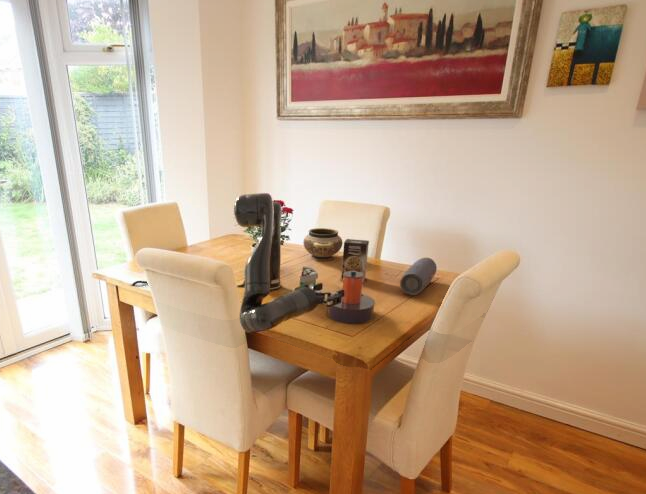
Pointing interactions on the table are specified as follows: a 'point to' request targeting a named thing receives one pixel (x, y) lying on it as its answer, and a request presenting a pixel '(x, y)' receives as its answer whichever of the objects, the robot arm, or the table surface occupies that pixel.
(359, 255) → the coffee box
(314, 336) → the table surface
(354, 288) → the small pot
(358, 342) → the table surface
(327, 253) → the ceramic bowl
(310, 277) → the food container
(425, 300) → the table surface
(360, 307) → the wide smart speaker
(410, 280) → the bluetooth speaker
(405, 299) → the table surface
